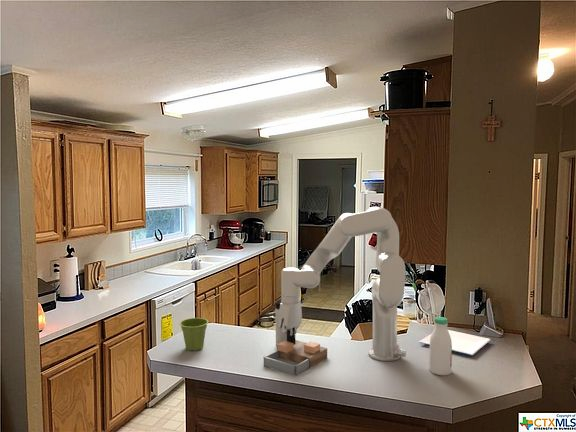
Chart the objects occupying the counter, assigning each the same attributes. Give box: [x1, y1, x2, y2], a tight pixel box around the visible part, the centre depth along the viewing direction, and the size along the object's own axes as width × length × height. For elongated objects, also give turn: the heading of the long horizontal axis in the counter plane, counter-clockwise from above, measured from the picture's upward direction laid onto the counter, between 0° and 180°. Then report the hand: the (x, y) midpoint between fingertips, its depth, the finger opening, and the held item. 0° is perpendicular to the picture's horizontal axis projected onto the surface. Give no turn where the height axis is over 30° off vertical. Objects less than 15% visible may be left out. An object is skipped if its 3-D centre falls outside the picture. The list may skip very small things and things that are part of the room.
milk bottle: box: [428, 316, 453, 376], centre depth 163 cm, size 8×8×20 cm
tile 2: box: [304, 341, 321, 354], centre depth 174 cm, size 4×4×2 cm
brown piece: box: [279, 339, 328, 369], centre depth 176 cm, size 16×12×4 cm
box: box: [263, 349, 310, 377], centre depth 168 cm, size 15×9×4 cm, turn 53°
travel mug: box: [274, 299, 287, 348], centre depth 189 cm, size 6×7×20 cm
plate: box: [418, 329, 491, 356], centre depth 190 cm, size 22×22×2 cm
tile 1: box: [276, 341, 293, 353], centre depth 175 cm, size 4×4×2 cm
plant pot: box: [179, 317, 209, 351], centre depth 188 cm, size 12×12×11 cm
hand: (291, 343), depth 178 cm, fingers closed
